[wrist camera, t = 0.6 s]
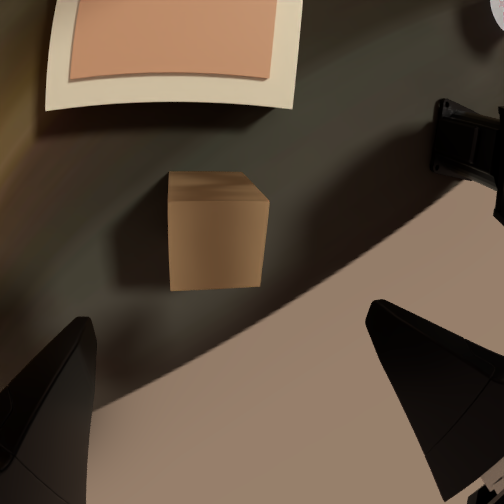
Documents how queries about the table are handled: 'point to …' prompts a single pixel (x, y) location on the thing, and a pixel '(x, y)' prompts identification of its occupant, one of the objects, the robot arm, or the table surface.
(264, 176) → the table surface
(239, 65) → the plinth
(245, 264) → the walnut block
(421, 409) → the robot arm
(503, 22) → the beverage cup
